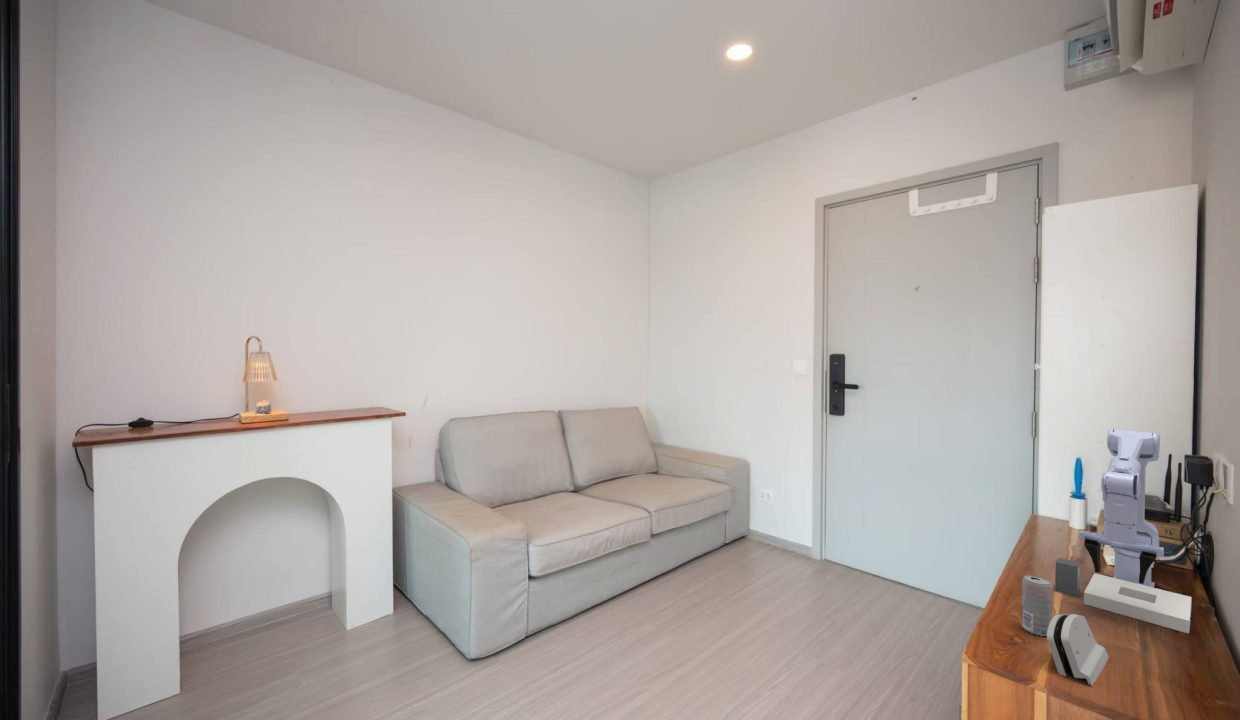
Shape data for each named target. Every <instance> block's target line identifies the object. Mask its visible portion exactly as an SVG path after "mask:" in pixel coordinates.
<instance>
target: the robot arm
mask: <svg viewBox="0 0 1240 720" xmlns="http://www.w3.org/2000/svg"><path fill="white" fill-rule="evenodd" d="M1106 445H1107V449H1108V451H1109V453H1111V456H1113V457H1112V458H1111V459H1110V461H1109V464H1108V468H1107V471H1106V472H1102V474H1101V480H1100V482H1101V483H1100V485H1101V486H1100V489H1101V491H1102V492H1101V493H1102V501H1103V533H1098V532H1092V531H1087V530H1080V531H1079V533H1078V535H1079V536H1078V538H1079V540H1081V541H1084V542H1083V545H1084V547H1085V549H1086V550H1087V553H1089V556H1090V558H1091V561H1092V564H1093V568H1094V572H1095V573H1097V574H1100V572H1101V548H1102V547H1101V546H1102V545H1108V546H1109V548H1111V549H1113V552H1114V573H1113V576H1112V578H1116V579H1120V580H1124V581H1128V582H1132V583H1136V584H1141V585H1145V586H1149V587H1153V588H1155V582H1154V581H1152V564H1154V562H1155V560H1156V559H1157V557H1159V558H1164V554H1165V548H1164V547H1162V546H1160V536H1159V533H1160V532H1159V530H1158V528H1157V527H1156V526H1154V525H1153V524H1152V523H1151V522H1149V521H1147V520H1146V519H1145V516H1146V515H1145V514H1146V513H1145V512H1146V511H1145V510H1146V509H1145V508H1146V507H1145V506H1146V503H1145V502H1146V471H1147V470H1146V468H1147V466H1148V465H1149V463H1150V462H1156V461H1158V459H1159V458H1160V448H1161V447H1160V446H1161V437H1160V434H1159V433H1158V432H1155V431H1154V432H1152V431H1151V432H1149V431H1138V430H1126V429H1114V428H1110V429H1109V430H1108V432H1107V436H1106Z"/></svg>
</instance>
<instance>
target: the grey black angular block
mask: <svg viewBox="0 0 1240 720" xmlns="http://www.w3.org/2000/svg"><path fill="white" fill-rule="evenodd" d="M1046 640H1047V644H1048V646H1049V650H1050V652H1051V655H1052V657H1053V661H1054V664H1055V668H1056V670H1057V673H1058V672H1060V673H1062V674H1063V675H1067V676H1069V675H1070V674H1071V676H1073V677H1074V679H1075V678H1076V679H1086V682H1087V684H1088V685H1089V684H1090V685H1093V684H1094V682H1095V681H1096V679H1097V677H1098V676H1099V677H1100V675H1101V673H1102V671H1103V669H1104V668H1103V667H1105V666H1106V664H1107V662H1108V660H1109V655H1108V652H1107V649H1106V648H1105V647H1104V646H1102V645H1101V644H1099V643H1098V642H1097V641H1096V639H1095V637H1094V634H1093V632H1092V630H1091V627H1090V626H1089V623H1088V621H1087V619H1086V617H1085V616H1084V615H1079V614H1074V613H1073V614H1068V613H1062V614H1057V615H1054V616H1052V620H1051V622H1050V624H1049V627H1048V631H1047V637H1046ZM1101 670H1102V671H1101ZM1070 672H1071V673H1070ZM1100 672H1101V673H1100ZM1099 674H1100V675H1099ZM1099 677H1098V678H1099ZM1097 680H1098V679H1097ZM1096 682H1097V681H1096Z"/></svg>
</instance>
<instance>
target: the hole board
mask: <svg viewBox="0 0 1240 720" xmlns="http://www.w3.org/2000/svg"><path fill="white" fill-rule="evenodd" d="M1083 604H1084V605H1087V606H1090V607H1092V608H1093V607H1094V608H1098V609H1100V610H1105V611H1109V612H1111V613H1115V614H1117V615H1118V614H1119V615H1122V616H1126V617H1129V618H1133V619H1135V620H1140V621H1143V622H1146V623H1149V624H1154V625H1157V626H1161V627H1164V628H1168V629H1171V630H1175V631H1178V632H1181V633H1184V634H1190V630H1191V619H1190V618H1192V616H1191V615H1192V596H1189V595H1184V594H1181V593H1176V592H1173V591H1168V590H1164V589H1160V588H1156V587H1154V588H1153V587H1149V586H1145V585H1141V584H1136V583H1132V582H1128V581H1124V580H1120V579H1116V578H1113V576H1112V577H1111V576H1107V575H1104V574H1100V573H1097V572H1095V573H1094V574H1093V575H1092V577H1091V578H1090V580H1089V583H1088V584H1087V586H1086V588H1085V590H1084V592H1083Z"/></svg>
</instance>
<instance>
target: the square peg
mask: <svg viewBox="0 0 1240 720" xmlns="http://www.w3.org/2000/svg"><path fill="white" fill-rule="evenodd" d="M1054 576H1055V577H1054V579H1055V580H1054V591H1055V592H1058V593H1061V594H1064V595H1065V594H1066V595H1068V596H1072V597H1076V598H1077V597H1079V595H1080V593H1081V562H1079V561H1075V560H1071V559H1067V558H1066V559H1065V558H1061V557H1058V558H1057V559H1056V561H1055V575H1054Z"/></svg>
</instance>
